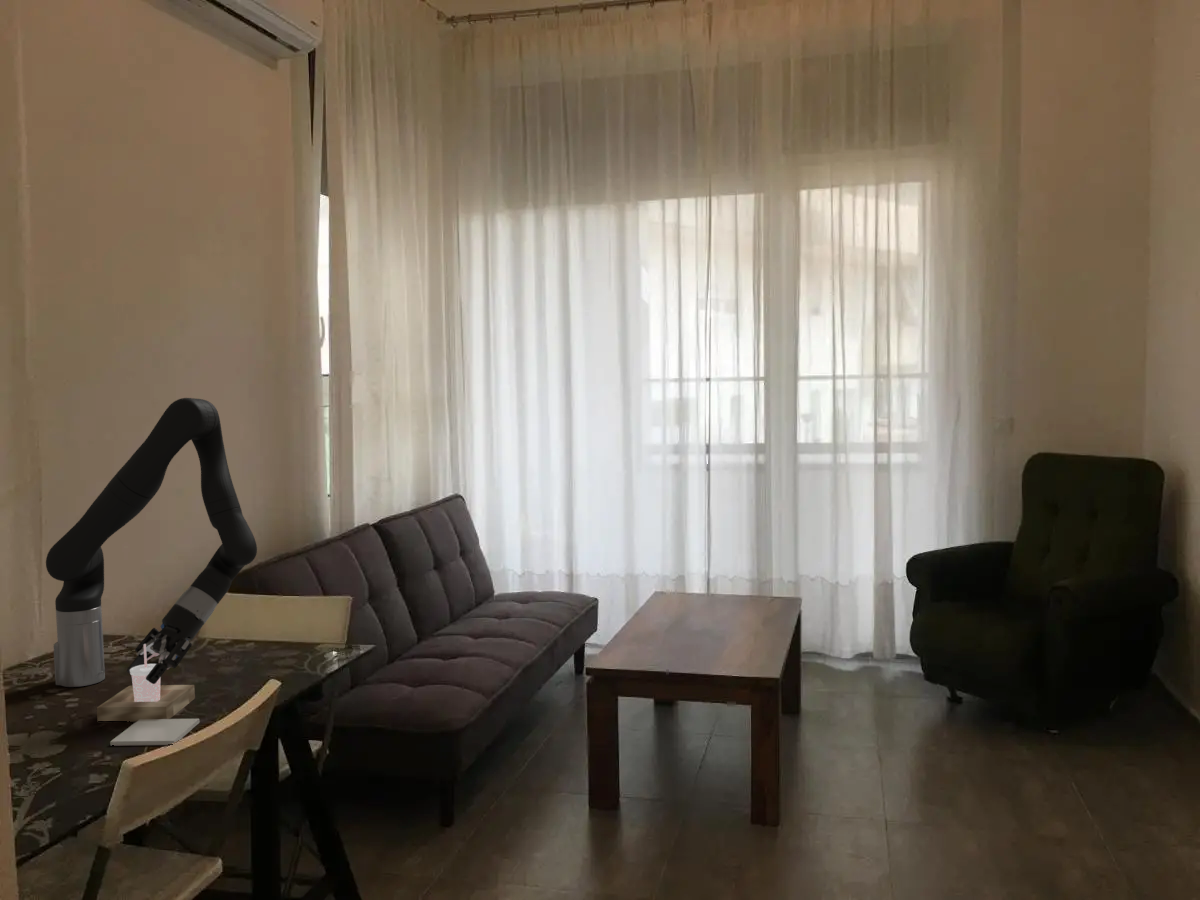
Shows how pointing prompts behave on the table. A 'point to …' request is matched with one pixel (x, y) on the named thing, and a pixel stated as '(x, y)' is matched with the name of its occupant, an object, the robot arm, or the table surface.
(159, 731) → the coaster
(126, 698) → the cup holder
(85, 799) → the table surface
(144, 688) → the beverage cup
